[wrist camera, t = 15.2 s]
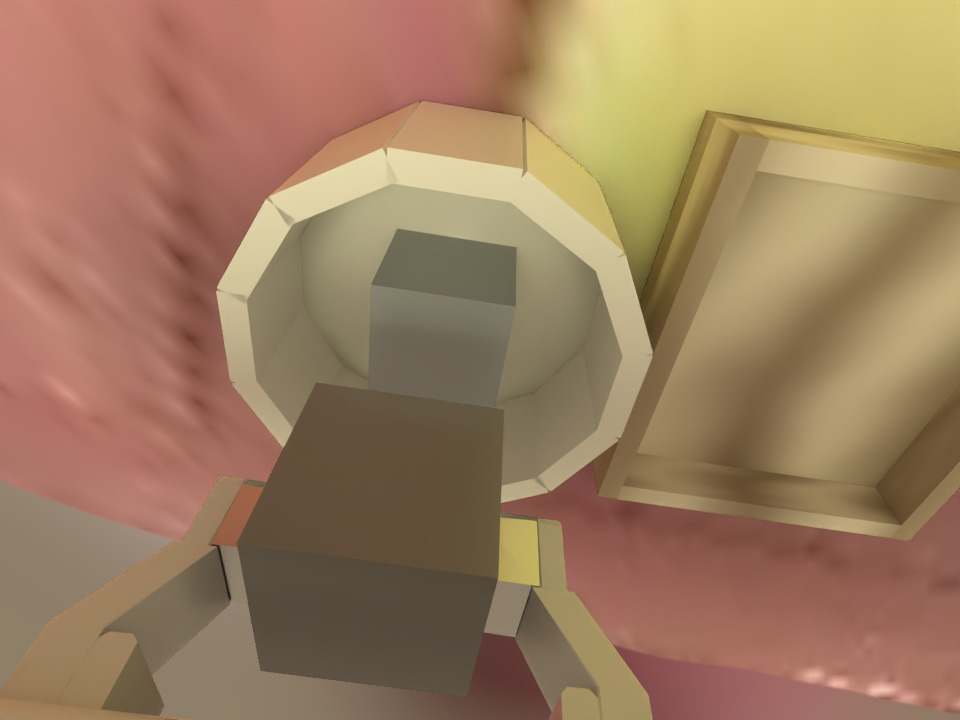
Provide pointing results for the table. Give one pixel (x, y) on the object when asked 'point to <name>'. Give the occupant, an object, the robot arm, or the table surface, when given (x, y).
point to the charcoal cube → (377, 541)
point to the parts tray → (801, 334)
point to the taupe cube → (441, 318)
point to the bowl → (454, 213)
